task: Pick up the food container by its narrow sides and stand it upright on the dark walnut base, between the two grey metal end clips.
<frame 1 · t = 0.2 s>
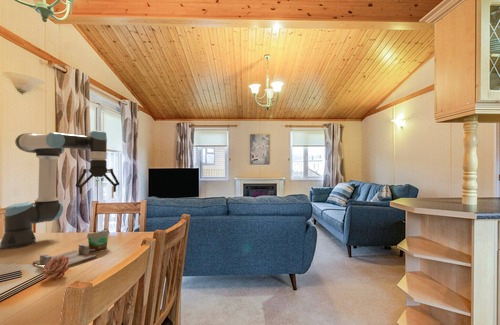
hand: (98, 199, 134), 27 cm above the table, tool pointing down, fingers open, 13 cm apart
flower: (56, 278, 100), on the table
food container: (101, 250, 135), on the table
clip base: (65, 261, 118), on the table
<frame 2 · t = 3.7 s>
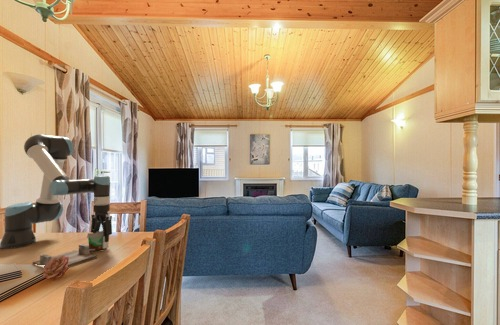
hand: (101, 246, 135), 1 cm above the table, tool pointing down, fingers closed on food container, 7 cm apart
food container: (101, 249, 135), on the table, touching gripper
everything else where it was.
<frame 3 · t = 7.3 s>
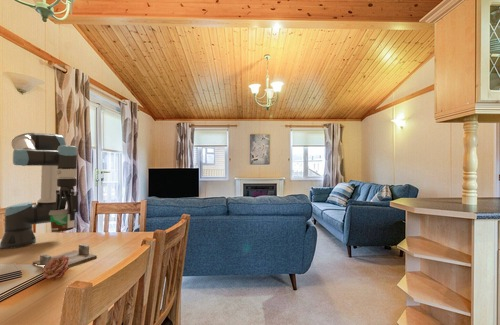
hand: (66, 226, 118), 16 cm above the table, tool pointing down, fingers closed on food container, 7 cm apart
food container: (66, 230, 118), point 15 cm above the table, touching gripper
everything else where it was.
when the fingers open (3 cm above the table, at t = 10.9 s): food container stays where it is, resting on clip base.
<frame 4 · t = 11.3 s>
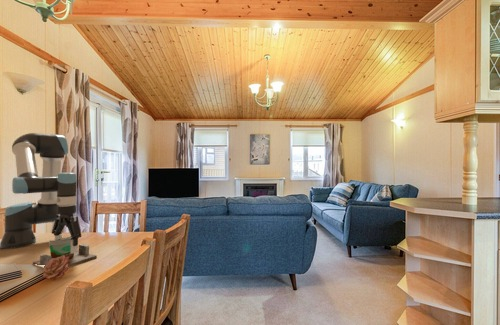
hand: (65, 250, 118), 5 cm above the table, tool pointing down, fingers open, 12 cm apart
food container: (66, 259, 118), point 1 cm above the table, touching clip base
everything else where it was.
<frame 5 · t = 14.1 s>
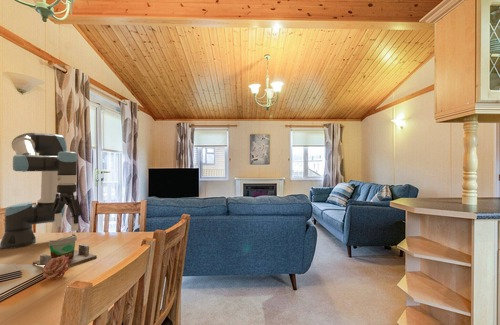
hand: (66, 228, 119), 15 cm above the table, tool pointing down, fingers open, 13 cm apart
nothing on the table moved.
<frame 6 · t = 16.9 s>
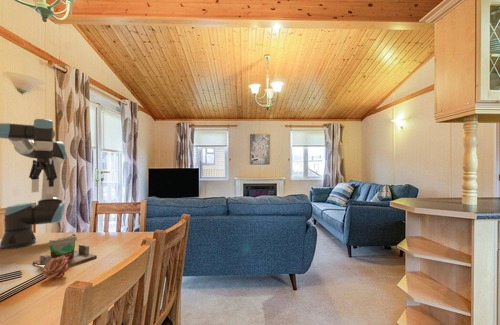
hand: (42, 192, 124), 32 cm above the table, tool pointing down, fingers open, 13 cm apart
nothing on the table moved.
at the end: food container 0.3 cm off-centre on the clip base, point 1.0 cm above the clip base's base; food container tilted 0°; the gripper is holding nothing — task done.
